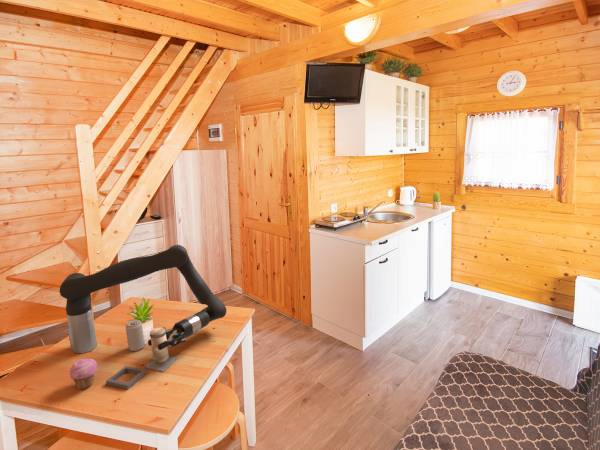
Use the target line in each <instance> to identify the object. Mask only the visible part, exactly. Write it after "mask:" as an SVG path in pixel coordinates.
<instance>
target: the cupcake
mask: <svg viewBox="0 0 600 450" xmlns="http://www.w3.org/2000/svg"><path fill="white" fill-rule="evenodd" d="M69 369H70V370H69V377H70V378H71V379H72V380H73V381H74V382H75V385H76V389H78V390H82V389H86V388H89V387H91V386H92V385H94V381H95V373H96V372H97V369H98V364H97V361H96V360H95V359H93V358H80V359H78V360H76V361H74V362H73V364H72V366H71V367H70V368H69Z"/></svg>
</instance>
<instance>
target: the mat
mask: <svg viewBox="0 0 600 450" xmlns="http://www.w3.org/2000/svg"><path fill="white" fill-rule="evenodd" d="M177 360H178V357H174V356H169V358H168V359H167V360H166V361H164V362H160V363H157V362H154V359H152V360H151V361H149V362H148V363H147V364H146V365H145V366H143V368H144V369H145V370H152V371H158V372H162V373H164V372H165V371H166V370H167V369H169V368H170V367H171V366H172V365H173V364H174V363H175V362H176V361H177Z"/></svg>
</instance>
